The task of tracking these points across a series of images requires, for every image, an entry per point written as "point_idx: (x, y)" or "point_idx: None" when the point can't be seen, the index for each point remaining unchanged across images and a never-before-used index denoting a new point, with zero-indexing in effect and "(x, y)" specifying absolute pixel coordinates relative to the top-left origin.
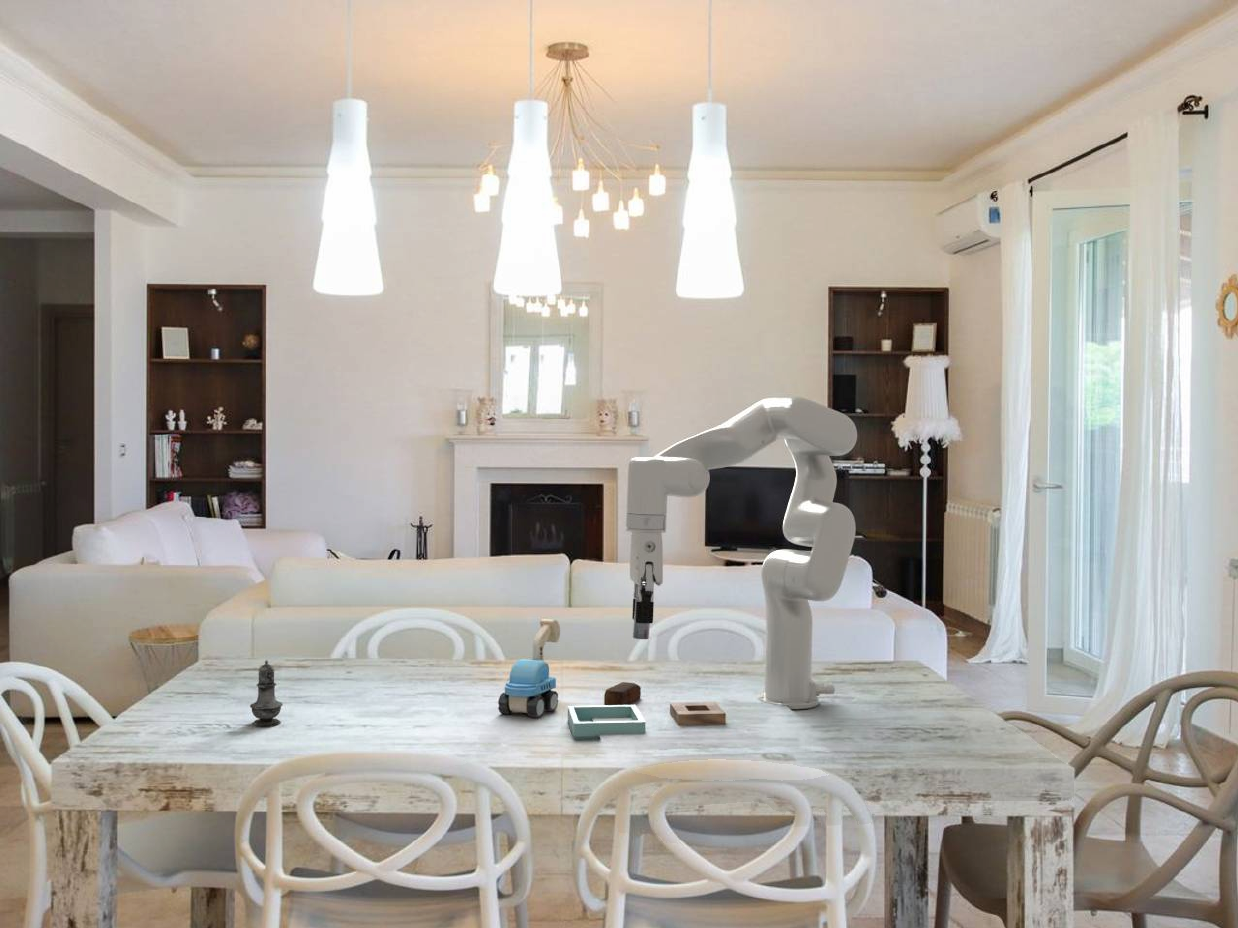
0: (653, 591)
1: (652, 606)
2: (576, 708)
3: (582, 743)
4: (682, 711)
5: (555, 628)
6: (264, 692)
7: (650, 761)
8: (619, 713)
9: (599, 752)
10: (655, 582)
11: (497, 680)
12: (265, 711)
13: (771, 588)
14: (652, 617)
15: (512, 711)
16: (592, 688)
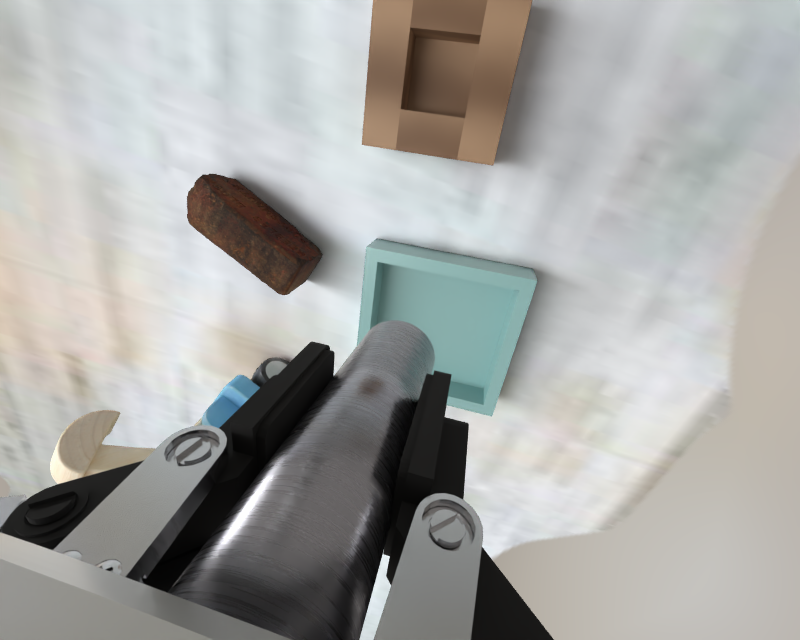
0: (468, 630)
1: (435, 453)
2: None
3: (519, 390)
4: (464, 140)
5: (90, 445)
6: None
7: (719, 322)
8: (379, 281)
9: (595, 385)
10: (82, 562)
11: (85, 376)
12: None
13: None
14: (447, 394)
15: None
16: (110, 238)
